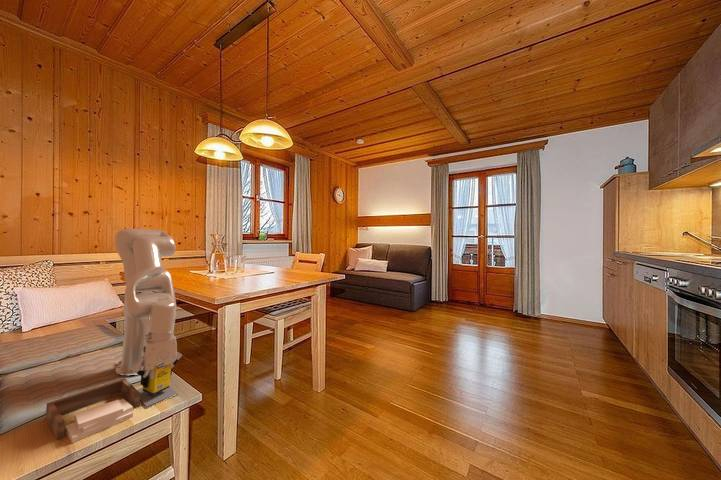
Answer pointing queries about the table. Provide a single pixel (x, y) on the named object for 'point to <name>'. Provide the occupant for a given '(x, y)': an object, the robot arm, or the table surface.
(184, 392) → the table surface
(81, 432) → the offcut stack
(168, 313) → the robot arm
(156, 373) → the supplement box
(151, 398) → the rubber mat
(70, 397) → the brown wooden tray
